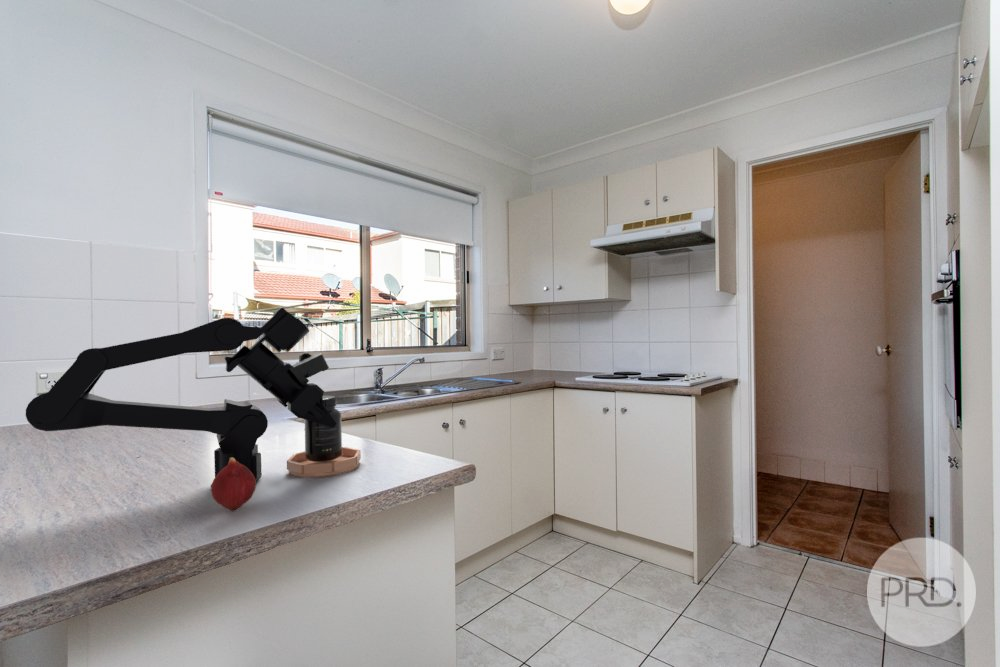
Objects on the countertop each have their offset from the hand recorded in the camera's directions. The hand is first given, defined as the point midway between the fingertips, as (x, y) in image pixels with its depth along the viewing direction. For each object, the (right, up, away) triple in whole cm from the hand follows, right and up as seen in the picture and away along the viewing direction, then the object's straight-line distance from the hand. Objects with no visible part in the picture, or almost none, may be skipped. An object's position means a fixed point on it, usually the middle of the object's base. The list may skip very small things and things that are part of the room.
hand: (330, 423), depth 94 cm
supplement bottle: (-1, -7, 0) cm, 7 cm away
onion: (-6, -9, -23) cm, 25 cm away
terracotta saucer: (-1, -9, -1) cm, 9 cm away
